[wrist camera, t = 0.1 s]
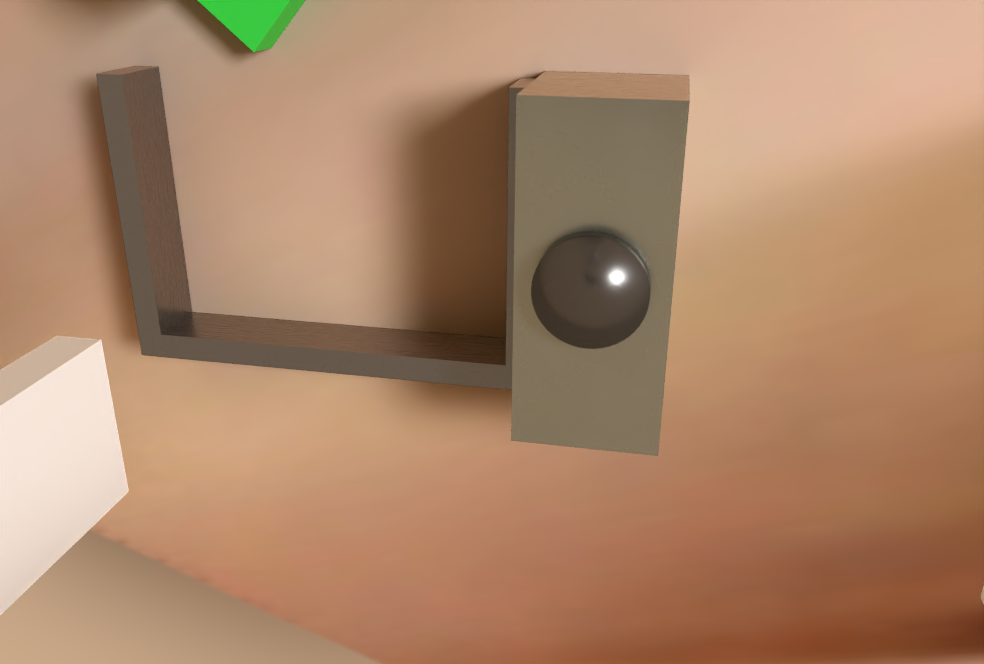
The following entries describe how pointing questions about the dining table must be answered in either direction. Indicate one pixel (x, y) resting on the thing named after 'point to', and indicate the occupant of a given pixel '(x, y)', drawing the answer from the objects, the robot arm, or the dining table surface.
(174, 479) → the dining table surface
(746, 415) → the dining table surface
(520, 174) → the knobbed latch bracket
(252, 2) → the mechanical part
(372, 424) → the dining table surface
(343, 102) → the dining table surface
